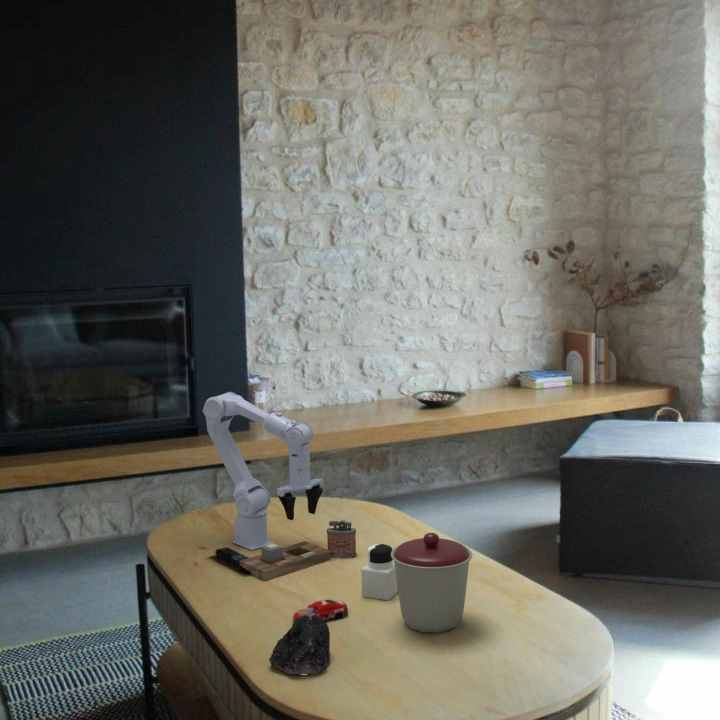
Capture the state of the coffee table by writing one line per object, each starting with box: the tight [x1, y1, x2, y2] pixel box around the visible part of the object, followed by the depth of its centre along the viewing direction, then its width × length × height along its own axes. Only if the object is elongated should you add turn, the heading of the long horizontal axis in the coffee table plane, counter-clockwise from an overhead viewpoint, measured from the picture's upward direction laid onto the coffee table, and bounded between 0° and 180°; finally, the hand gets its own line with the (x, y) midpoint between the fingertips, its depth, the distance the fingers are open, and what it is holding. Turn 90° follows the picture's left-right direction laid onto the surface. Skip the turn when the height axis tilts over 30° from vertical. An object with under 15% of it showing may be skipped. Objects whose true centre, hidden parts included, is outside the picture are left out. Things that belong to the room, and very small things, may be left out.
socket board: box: [239, 541, 332, 582], centre depth 253 cm, size 11×22×3 cm, turn 132°
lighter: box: [326, 519, 358, 559], centre depth 258 cm, size 8×3×10 cm, turn 84°
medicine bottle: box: [360, 543, 398, 601], centre depth 231 cm, size 7×7×12 cm
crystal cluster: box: [268, 615, 331, 675], centre depth 195 cm, size 13×14×10 cm
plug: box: [260, 543, 284, 565], centre depth 250 cm, size 4×4×6 cm
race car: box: [292, 599, 349, 623], centre depth 217 cm, size 13×5×4 cm, turn 117°
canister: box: [391, 532, 473, 634], centre depth 212 cm, size 18×18×21 cm
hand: (301, 516), depth 262 cm, fingers open, 7 cm apart
